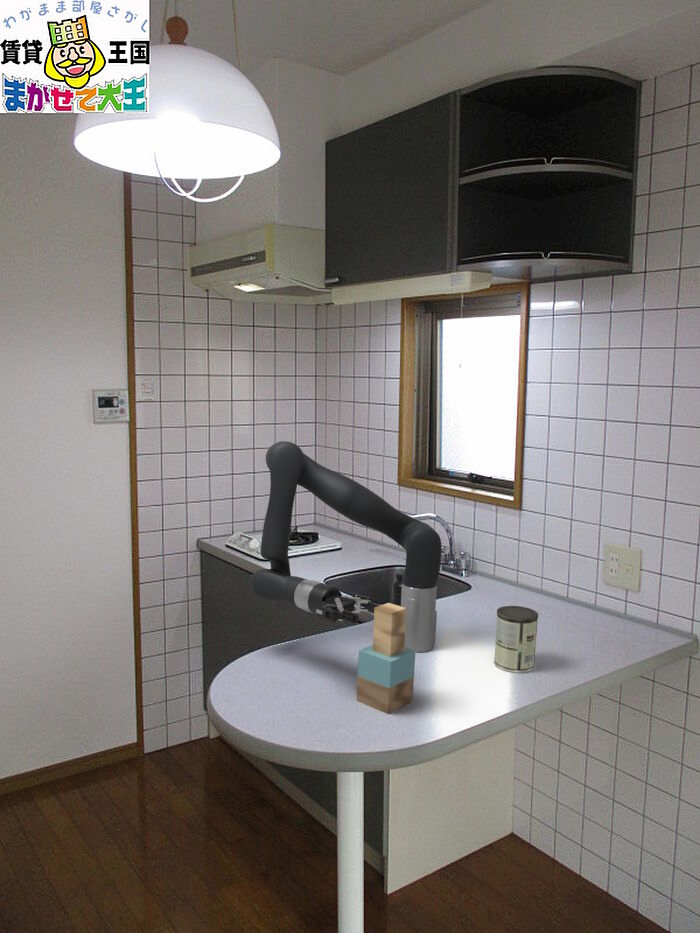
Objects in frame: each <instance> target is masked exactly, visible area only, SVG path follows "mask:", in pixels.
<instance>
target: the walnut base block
mask: <svg viewBox="0 0 700 933" xmlns="http://www.w3.org/2000/svg"><path fill="white" fill-rule="evenodd" d="M414 677H415V676H414ZM414 677H412V678H410V679H408V680H406V681H404V682H402V683H400V684H398V685H395V686H393V687H391V688H387V687H385V686H382V685H380V684H377V683H374V682H372V681H369V680H367V679H364V678H362V677H359V676H358V675H357V677H356V678H357V679H356V680H357V681H356V702H358V703H360V704H363V705H366V706H368V707H370V708H372V709H374V710H377V711H379V712H382V713H384V714H386V715H388V714H391V713H393V712H394V711H397V710H398V709H400V708H402V707H404V706H407V704H410V703H412V702H413V699H414V696H413V695H414V682H415V681H414V680H415V679H414Z"/></svg>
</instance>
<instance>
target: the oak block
mask: <svg viewBox="0 0 700 933" xmlns="http://www.w3.org/2000/svg"><path fill="white" fill-rule="evenodd" d="M380 605H381V606H378V607H375V608H374V614H373V618H374V619H373V633H372V635H373V636H372V645H373V651H375V652H377V653H380V654H383V655H385V656H388V657H392V656H394V655H396V654H399V653H401V652H404V644H405V624H406V608H404V607H401V606H398V605H394V604H392V602H391V603H390V602H387V603H384V604H380Z"/></svg>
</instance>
